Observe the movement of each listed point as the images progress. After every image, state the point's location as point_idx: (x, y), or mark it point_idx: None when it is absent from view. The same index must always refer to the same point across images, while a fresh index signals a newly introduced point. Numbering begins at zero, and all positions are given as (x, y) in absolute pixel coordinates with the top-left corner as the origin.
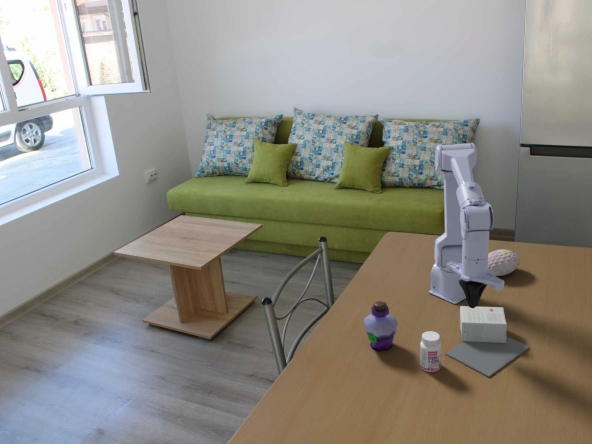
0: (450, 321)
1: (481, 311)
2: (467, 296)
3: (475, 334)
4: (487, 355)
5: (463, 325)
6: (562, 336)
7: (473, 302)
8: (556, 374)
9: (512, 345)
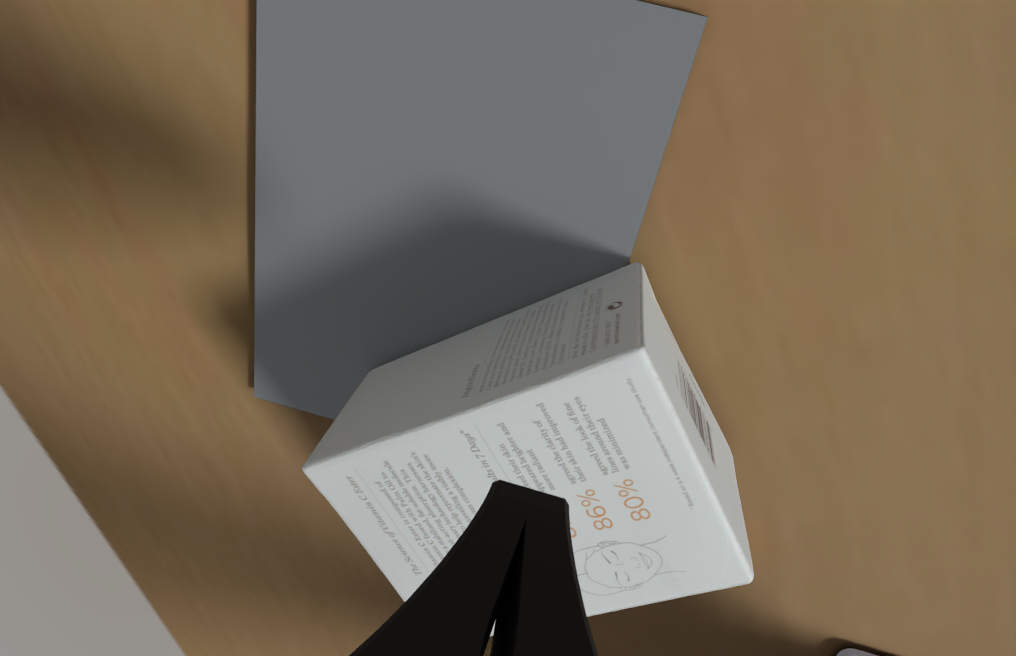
0: (815, 467)
1: None
2: (545, 627)
3: (533, 327)
4: (399, 182)
5: (626, 335)
6: (199, 543)
7: (455, 545)
8: (19, 220)
9: (329, 368)
